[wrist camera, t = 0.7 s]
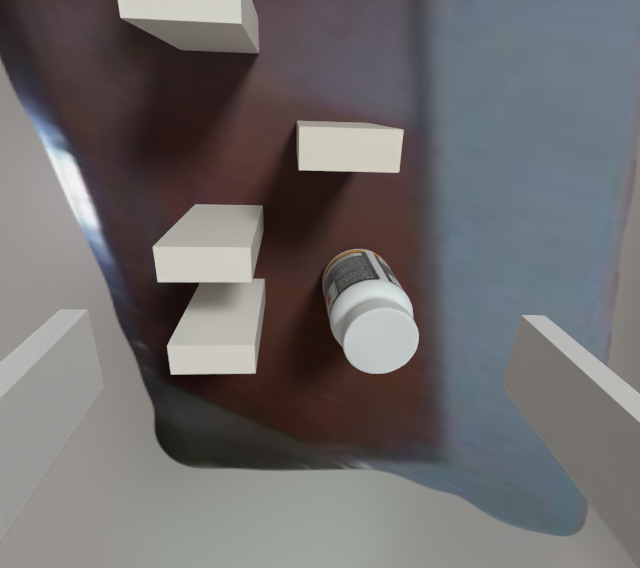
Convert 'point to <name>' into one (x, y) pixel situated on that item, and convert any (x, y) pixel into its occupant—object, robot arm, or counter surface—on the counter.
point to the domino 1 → (197, 23)
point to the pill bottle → (369, 312)
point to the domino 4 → (348, 147)
